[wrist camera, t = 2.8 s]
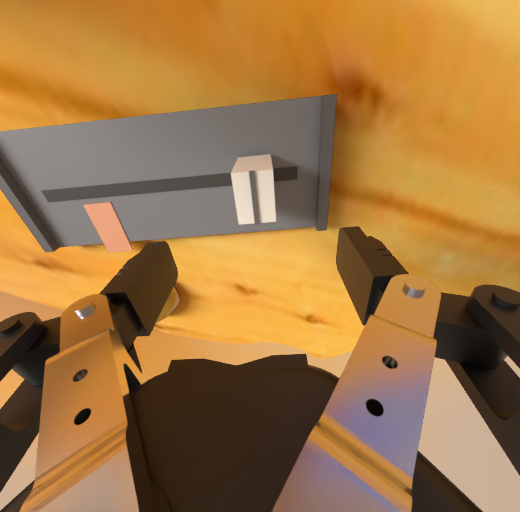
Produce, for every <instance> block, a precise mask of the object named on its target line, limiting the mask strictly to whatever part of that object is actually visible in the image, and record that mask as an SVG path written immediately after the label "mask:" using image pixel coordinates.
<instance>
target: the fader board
mask: <svg viewBox="0 0 520 512" xmlns="http://www.w3.org/2000/svg"><path fill="white" fill-rule="evenodd" d="M336 99H337V94H333V95H324V96H316V97H307V98H298V99H289V100H280V101H271V102H262V103H253V104H244V105H235V106H226V107H217V108H208V109H199V110H190V111H181V112H172V113H163V114H154V115H145V116H136V117H127V118H118V119H109V120H100V121H91V122H82V123H73V124H64V125H55V126H46V127H37V128H28V129H19V130H10V131H1V132H0V189H1V191H2V192H3V194H4V195H5V196H6V198H7V199H8V201H9V202H10V203H11V205H12V206H13V208H14V209H15V210H16V212H17V213H18V215H19V216H20V217H21V219H22V220H23V222H24V223H25V224H26V226H27V227H28V229H29V230H30V231H31V233H32V234H33V236H34V237H35V238H36V240H37V241H38V243H39V244H40V245H41V247H42V248H43V250H44V251H45V252H54V251H55V250H57V249H58V248H60V247H68V246H80V245H93V244H104V245H105V247H106V249H107V250H108V252H109V253H111V252H124V251H133V249H132V247H131V244H130V242H131V241H143V240H156V239H168V238H181V237H194V236H206V235H219V234H231V233H244V232H257V231H269V230H282V229H294V228H307V227H316V229H317V231H323V230H327V220H328V206H329V193H330V179H331V166H332V153H333V139H334V126H335V113H336ZM266 154H270V155H271V161H272V166H273V177H274V194H275V211H276V222H266V223H260V224H258V225H255V223H254V224H241V225H239V223H238V217H237V210H236V204H235V198H234V191H233V185H232V179H231V172H232V169H233V167H234V165H235V163H236V161H237V158H238V157H246V156H256V155H266Z"/></svg>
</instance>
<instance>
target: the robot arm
mask: <svg viewBox="0 0 520 512" xmlns="http://www.w3.org/2000/svg"><path fill="white" fill-rule="evenodd" d="M336 264H337V269H338V271H339V274H340V276H341V278H342V280H343V282H344V285H345V287H346V289H347V291H348V293H349V296H350V298H351V300H352V302H353V305H354V307H355V309H356V311H357V313H358V316H359V318H360V320H361V322H362V324H363V325H365V327H364V329H363V331H362V333H361V335H360V338H359V340H358V342H357V344H356V346H355V348H354V350H353V352H352V355H351V356H350V358H349V360H348V362H347V365H346V367H345V369H344V371H343V373H342V375H341V377H340V378H338V377H337V376H335V375H333V374H332V373H330V372H327V371H326V370H323V369H321V368H318V367H315V366H311V365H308V363H307V357H306V354H294V355H273V356H269V357H265V358H262V359H258V360H255V361H252V362H248V363H245V364H241V365H231V364H226V363H221V362H217V361H212V360H207V359H184V360H172V361H171V363H170V366H169V369H168V371H167V372H165V373H163V374H160V375H158V376H155V377H154V378H152V379H150V380H148V379H147V376H146V373H145V370H144V367H143V364H142V361H141V358H140V354H139V351H138V348H137V346H136V344H135V342H134V340H135V339H136V337H137V336H149V335H150V333H151V332H152V330H153V327H154V325H155V323H156V321H157V319H158V317H159V315H160V313H161V311H162V309H163V307H164V305H165V303H166V301H167V299H168V297H169V295H170V293H171V291H172V289H173V287H174V285H175V283H176V281H177V277H178V271H177V267H176V264H175V261H174V259H173V256H172V253H171V250H170V248H169V245H168V243H167V242H165V241H161V242H149V243H147V244H146V245H145V247H144V248H143V249H142V250H141V251H140V253H139V254H137V255H135V256H134V257H133V258H131V259H130V260H128V261H127V263H126V264H125V265H124V266H123V267H122V268H123V269H121V270H120V271H119V272H118V273H117V275H115V276H114V278H113V279H112V280H111V281H110V282H109V283H108V284H107V286H106V287H105V288H104V289H103V290H102V291H101V293H100V294H95V295H90V296H87V297H84V298H82V299H80V300H78V301H76V302H74V303H73V304H71V305H70V306H69V307H68V308H67V309H66V310H65V311H64V312H63V313H62V315H61V317H58V318H54V319H50V320H47V321H43V322H42V321H41V319H40V318H39V317H38V316H37V315H36V314H35V313H32V312H25V313H21V314H17V315H14V316H12V317H9V318H7V319H5V320H3V321H2V322H0V381H1V380H2V379H3V378H4V377H5V375H6V374H7V373H8V372H9V371H10V370H11V369H13V370H14V371H15V372H16V373H18V374H19V375H20V376H21V377H22V378H24V379H25V380H24V381H23V382H22V383H21V385H20V386H19V387H18V388H17V390H16V391H15V392H14V394H13V395H12V396H11V397H10V398H9V399H8V401H7V402H6V403H5V404H4V406H3V407H2V408H1V409H0V492H1V491H2V489H3V487H4V486H5V484H6V482H7V481H8V480H9V478H10V476H11V475H12V473H13V472H14V470H15V469H16V467H17V466H18V464H19V462H20V461H21V459H22V458H23V456H24V455H25V453H26V451H27V449H28V448H29V447H30V445H31V443H32V442H33V440H34V439H35V437H36V436H37V434H38V433H39V438H38V449H37V460H36V471H35V480H34V481H33V482H32V483H31V484H29V485H28V486H27V487H26V488H25V489H24V490H23V491H22V492H21V493H19V494H18V495H17V496H16V497H15V498H14V499H13V500H12V501H11V502H10V503H9V504H7V505H6V506H5V507H4V508H3V509H2V510H1V511H0V512H483V511H482V510H481V509H479V508H478V507H477V506H476V505H475V504H474V503H473V502H472V501H471V500H470V499H469V498H468V497H467V496H466V495H465V494H464V493H462V492H461V491H460V490H459V489H458V488H457V487H456V486H455V485H454V484H453V483H452V482H451V481H450V480H449V479H448V478H447V477H446V476H445V475H443V474H442V473H441V472H440V471H439V470H438V469H437V468H436V467H435V466H434V465H433V464H432V463H431V462H430V461H429V460H428V459H427V458H425V457H424V456H423V455H422V454H421V453H420V452H419V451H418V446H419V440H420V434H421V429H422V424H423V418H424V412H425V407H426V401H427V396H428V390H429V384H430V379H431V373H432V368H433V362H434V357H436V358H441V359H445V360H446V362H447V363H448V365H449V366H450V368H451V370H452V371H453V373H454V374H455V375H456V377H457V379H458V380H459V382H460V383H461V385H462V386H463V388H464V390H465V391H466V393H467V394H468V396H469V397H470V399H471V400H472V402H473V404H474V405H475V407H476V408H477V410H478V411H479V413H480V415H481V416H482V418H483V419H484V421H485V422H486V424H487V425H488V427H489V429H490V430H491V432H492V433H493V435H494V436H495V438H496V439H497V441H498V442H499V444H500V446H501V447H502V449H503V450H504V451H505V453H506V455H507V456H508V458H509V459H510V461H511V463H512V464H513V466H514V467H515V469H516V470H517V472H518V474H519V475H520V378H519V377H518V376H517V374H516V373H515V372H514V371H513V370H512V369H511V368H510V366H509V365H508V364H507V363H506V362H505V361H504V359H505V358H506V357H507V356H509V357H510V358H511V359H512V360H513V361H514V363H515V364H516V365H517V366H518V367H519V368H520V293H519V292H517V291H514V290H512V289H509V288H505V287H501V286H496V285H481V286H478V287H476V288H475V289H474V290H473V292H472V294H471V296H470V297H468V296H461V295H454V294H447V293H442V292H441V291H440V290H439V288H438V287H437V286H436V285H435V284H434V283H432V282H431V281H429V280H427V279H425V278H423V277H419V276H416V275H410V274H409V273H408V272H407V271H406V270H405V269H404V268H403V266H402V265H401V264H400V263H399V262H398V261H397V259H396V258H395V257H394V256H392V254H391V253H390V251H389V250H387V248H386V247H385V246H384V244H383V243H382V242H381V241H379V240H377V239H375V238H373V237H372V236H369V237H367V236H366V235H365V234H364V233H363V231H362V230H361V229H360V227H358V226H357V227H344V228H340V230H339V236H338V245H337V255H336Z"/></svg>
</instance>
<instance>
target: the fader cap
mask: <svg viewBox="0 0 520 512" xmlns="http://www.w3.org/2000/svg"><path fill="white" fill-rule="evenodd" d="M231 179H232V185H233V191H234V198H235V204H236V210H237V217H238V223H239V225H241V224H254V223H255V225H258V224H260V223H266V222H276V211H275V194H274V177H273V166H272V161H271V155H270V154H266V155H256V156H246V157H238V158H237V161H236V163H235V165H234V167H233V169H232V172H231Z"/></svg>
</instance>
